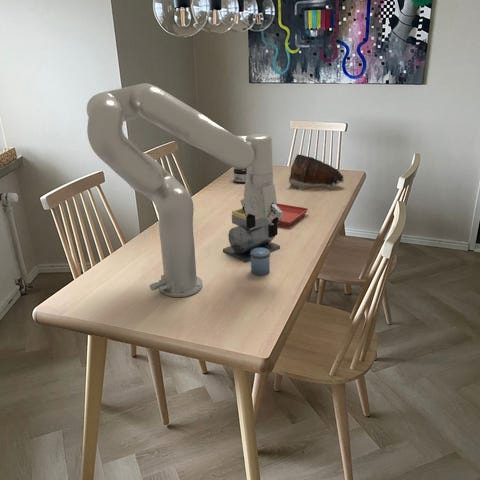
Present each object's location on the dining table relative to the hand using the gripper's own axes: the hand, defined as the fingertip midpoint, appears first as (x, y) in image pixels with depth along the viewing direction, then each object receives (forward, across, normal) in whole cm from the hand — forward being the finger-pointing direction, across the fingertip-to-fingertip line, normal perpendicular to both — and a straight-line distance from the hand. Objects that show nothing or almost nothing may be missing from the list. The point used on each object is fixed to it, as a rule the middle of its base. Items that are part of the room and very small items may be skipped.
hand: (261, 231), depth 144 cm
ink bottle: (+14, -79, +61) cm, 101 cm away
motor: (+14, -14, +8) cm, 21 cm away
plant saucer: (+15, -29, +37) cm, 50 cm away
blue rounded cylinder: (+14, 0, -1) cm, 14 cm away
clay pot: (+15, -46, +80) cm, 94 cm away
